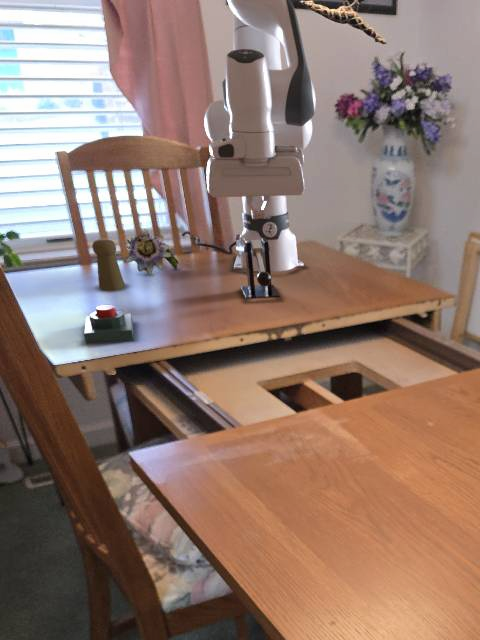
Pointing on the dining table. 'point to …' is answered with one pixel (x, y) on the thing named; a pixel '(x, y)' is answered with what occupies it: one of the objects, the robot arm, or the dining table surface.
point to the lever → (260, 263)
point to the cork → (107, 265)
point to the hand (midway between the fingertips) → (259, 218)
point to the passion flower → (149, 252)
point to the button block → (108, 328)
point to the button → (105, 311)
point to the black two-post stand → (251, 289)
